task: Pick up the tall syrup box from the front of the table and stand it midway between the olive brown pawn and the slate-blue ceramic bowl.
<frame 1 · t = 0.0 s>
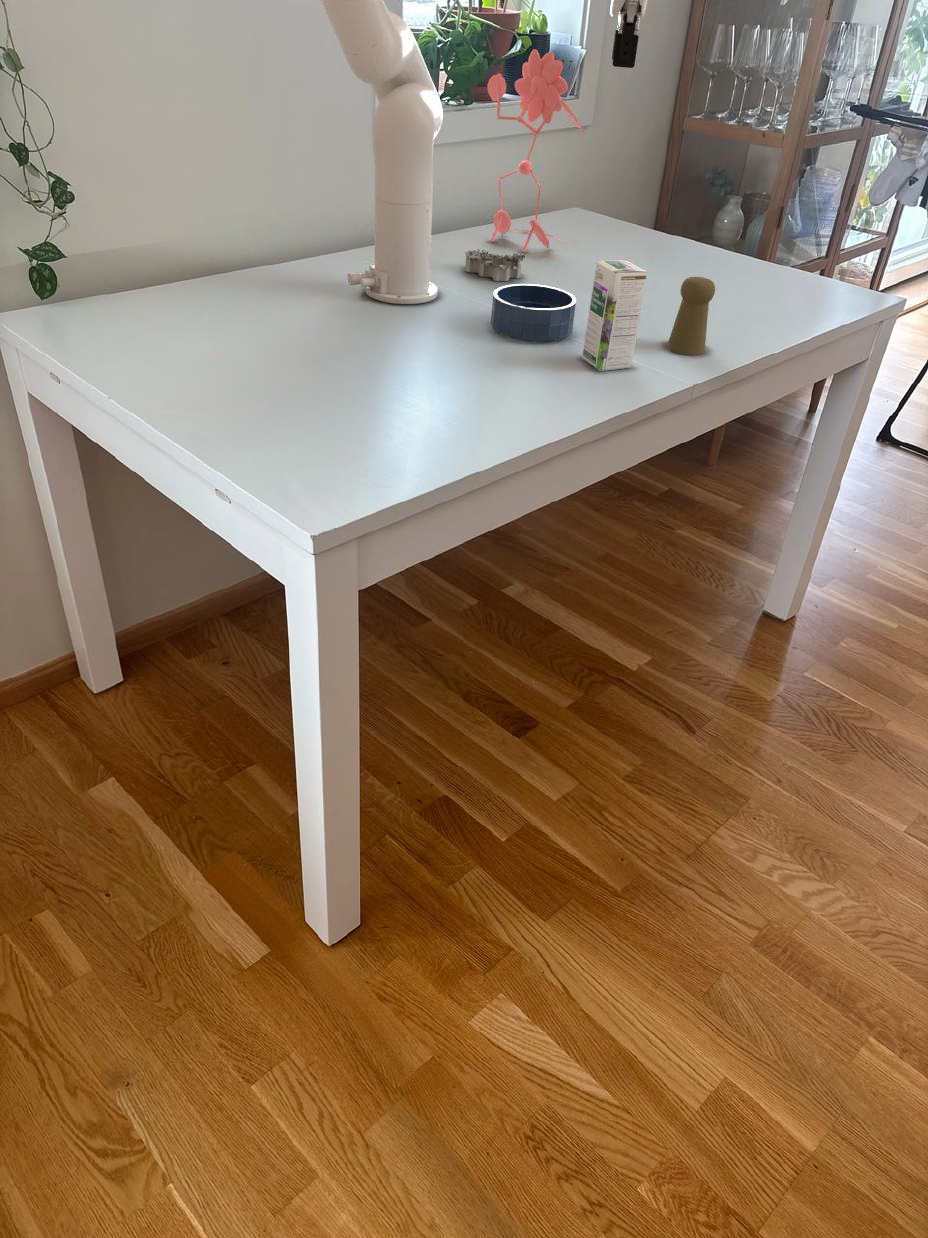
hand: (622, 63, 140), 37 cm above the table, tool pointing down, fingers open, 9 cm apart
bowl: (531, 330, 152), on the table
syrup box: (606, 364, 142), on the table
olive brown pawn: (685, 349, 150), on the table
figurine: (529, 243, 198), on the table
egg carton: (491, 274, 178), on the table
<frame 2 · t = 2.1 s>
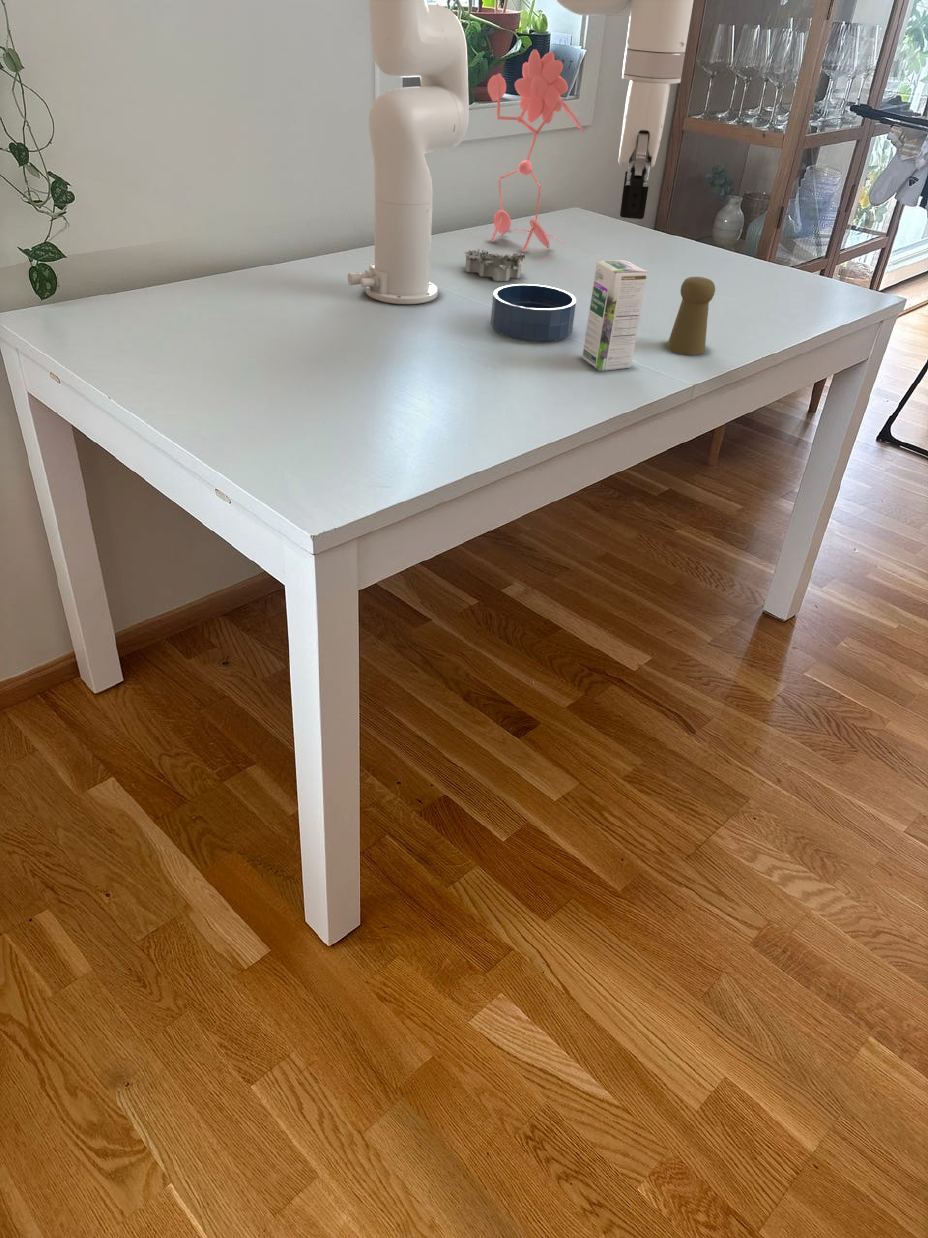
hand: (632, 210, 129), 22 cm above the table, tool pointing down, fingers open, 9 cm apart
nothing on the table moved.
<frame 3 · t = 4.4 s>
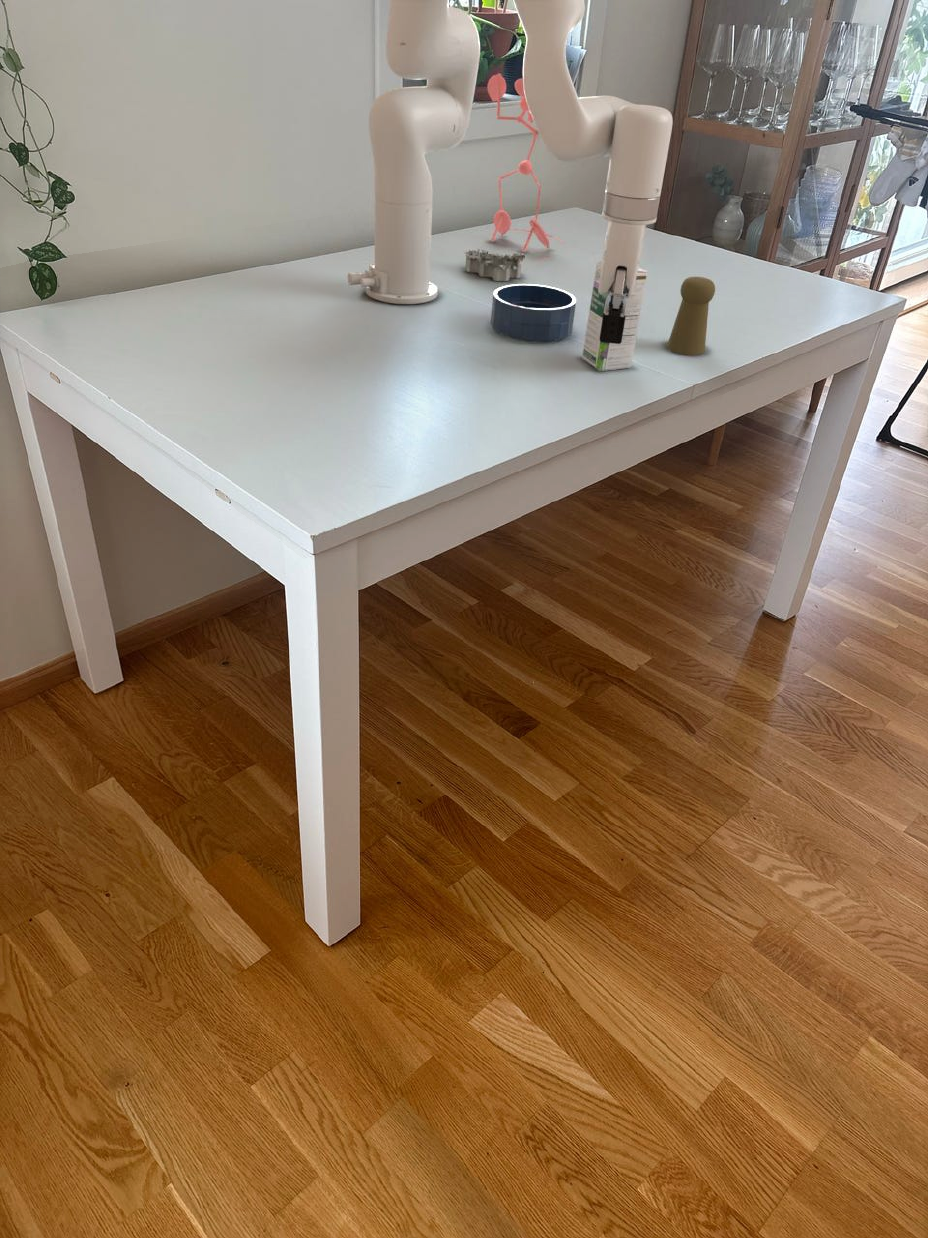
hand: (611, 332, 139), 5 cm above the table, tool pointing down, fingers closed on syrup box, 7 cm apart
syrup box: (606, 364, 142), on the table, touching gripper
everything else where it was.
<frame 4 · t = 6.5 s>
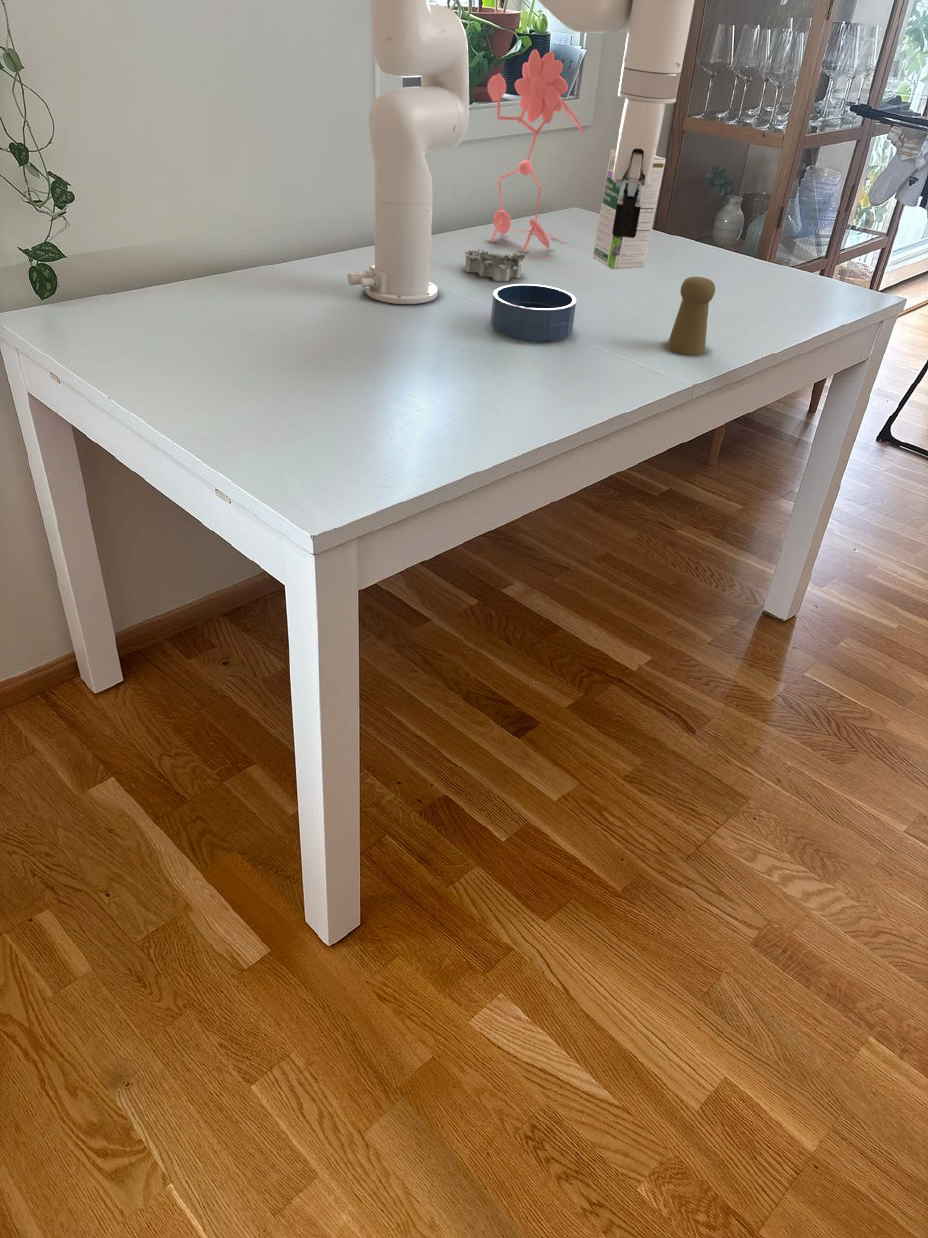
hand: (624, 227, 131), 19 cm above the table, tool pointing down, fingers closed on syrup box, 7 cm apart
syrup box: (618, 264, 134), point 14 cm above the table, touching gripper
everything else where it was.
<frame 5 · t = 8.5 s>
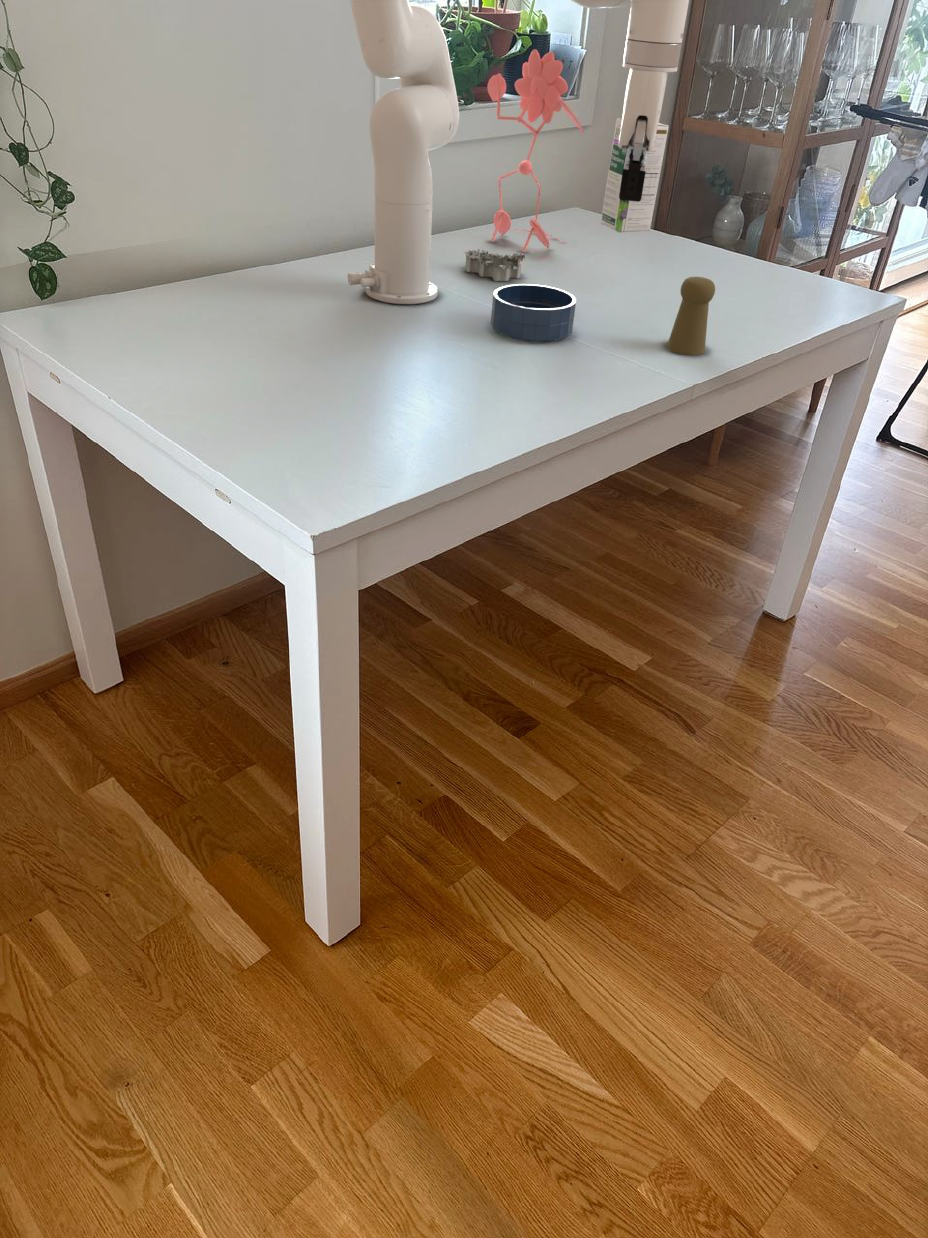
hand: (630, 193, 138), 22 cm above the table, tool pointing down, fingers closed on syrup box, 7 cm apart
syrup box: (625, 229, 141), point 17 cm above the table, touching gripper
everything else where it was.
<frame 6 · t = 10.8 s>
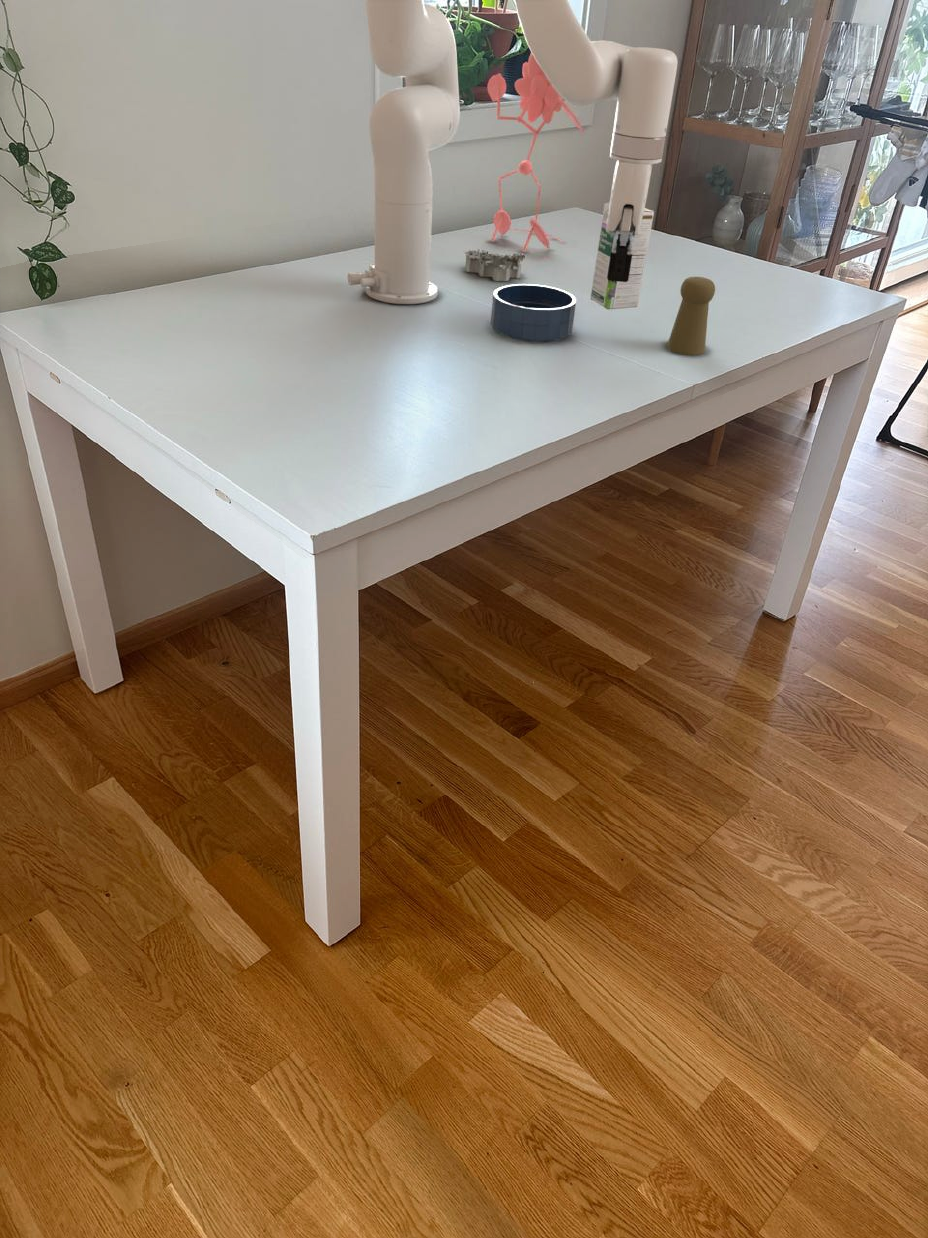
hand: (618, 272, 145), 11 cm above the table, tool pointing down, fingers closed on syrup box, 7 cm apart
syrup box: (613, 304, 148), point 6 cm above the table, touching gripper
everything else where it was.
when the fingers open (5 cm above the table, at t = 12.8 s): syrup box stays where it is, on the table.
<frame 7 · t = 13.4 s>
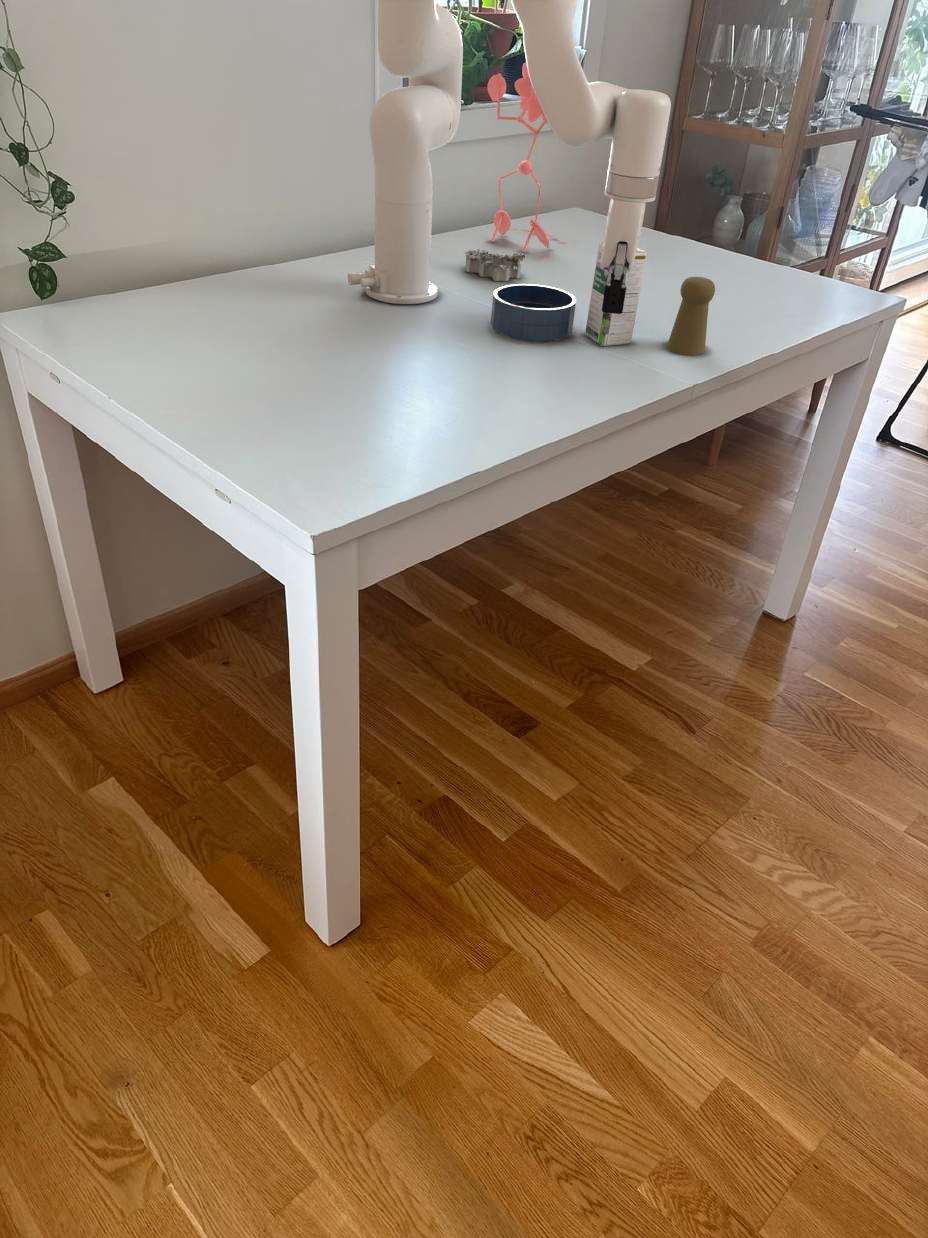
hand: (612, 303, 148), 6 cm above the table, tool pointing down, fingers open, 9 cm apart
syrup box: (607, 340, 151), on the table
everything else where it was.
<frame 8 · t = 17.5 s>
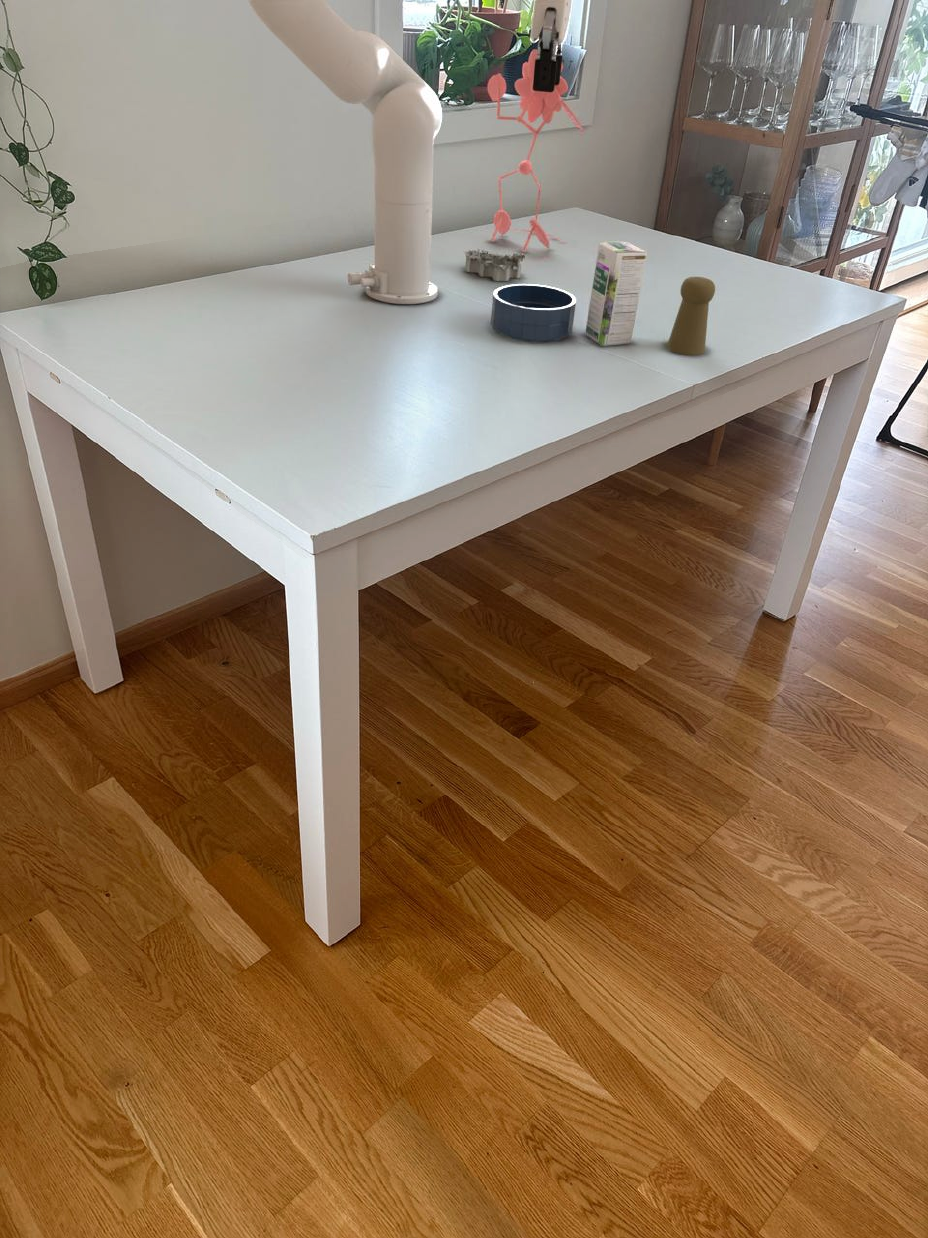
hand: (546, 87, 143), 33 cm above the table, tool pointing down, fingers open, 9 cm apart
nothing on the table moved.
at the end: syrup box 12.5 cm from the olive brown pawn (horizontally); syrup box 12.5 cm from the bowl (horizontally); syrup box tilted 0° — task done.
